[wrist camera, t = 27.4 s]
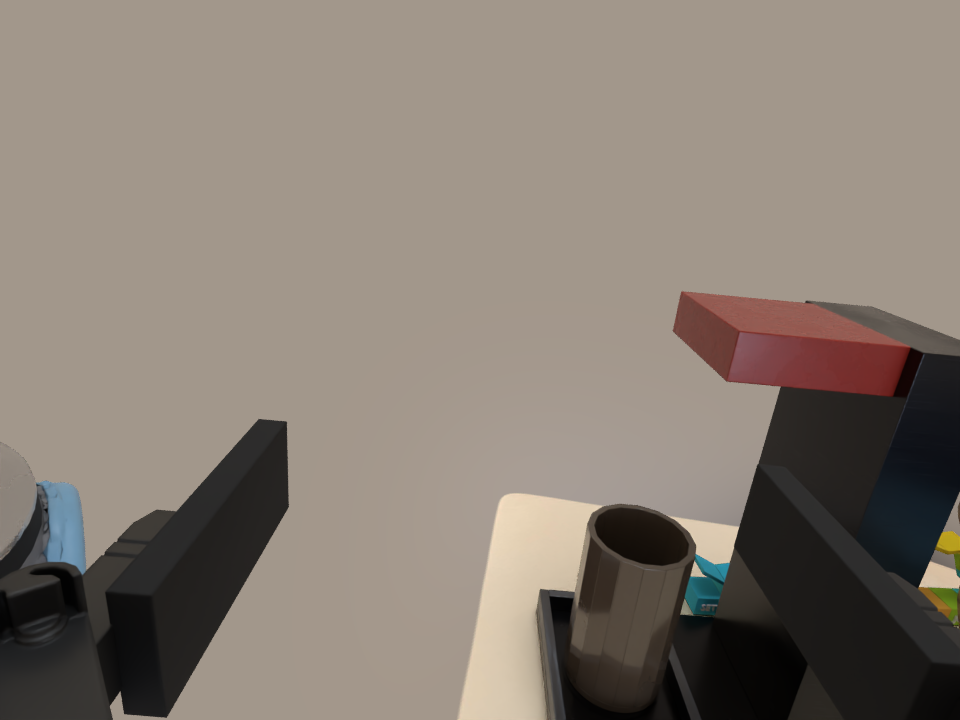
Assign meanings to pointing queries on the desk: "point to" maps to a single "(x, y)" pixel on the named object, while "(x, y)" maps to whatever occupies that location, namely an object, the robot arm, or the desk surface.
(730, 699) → the coffee maker
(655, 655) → the cup
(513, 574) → the desk surface
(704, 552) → the desk surface
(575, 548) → the desk surface
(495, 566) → the desk surface
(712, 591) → the chart
